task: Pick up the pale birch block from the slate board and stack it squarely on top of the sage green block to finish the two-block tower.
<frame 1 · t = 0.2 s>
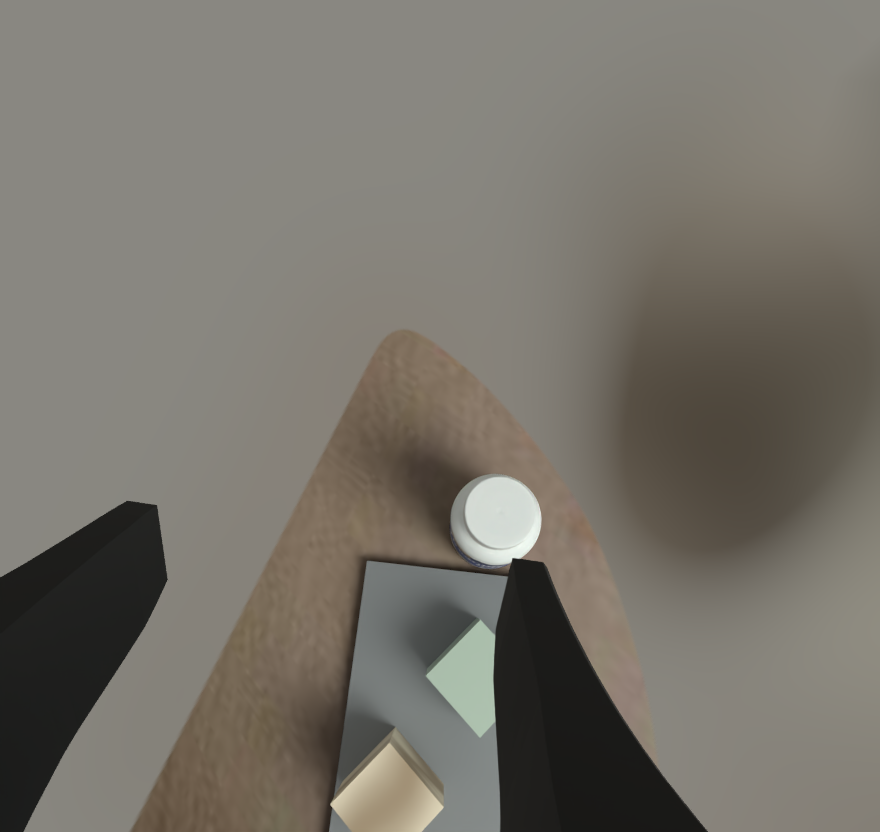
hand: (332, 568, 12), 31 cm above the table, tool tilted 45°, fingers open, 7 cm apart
pill bottle: (487, 530, 43), on the table
board: (436, 713, 39), on the table
birch block: (393, 782, 38), point 1 cm above the table, touching board
sage block: (476, 669, 39), resting on board
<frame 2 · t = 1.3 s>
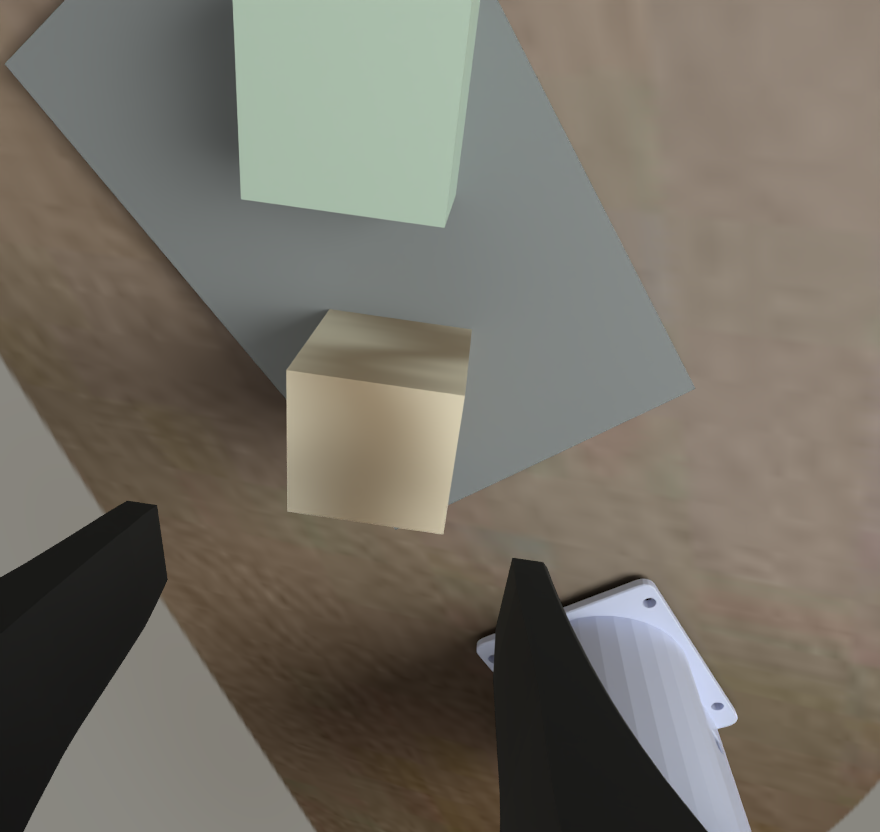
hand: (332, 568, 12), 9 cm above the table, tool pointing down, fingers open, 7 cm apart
board: (382, 233, 18), on the table
birch block: (394, 383, 20), point 1 cm above the table, touching board
sage block: (380, 92, 16), resting on board
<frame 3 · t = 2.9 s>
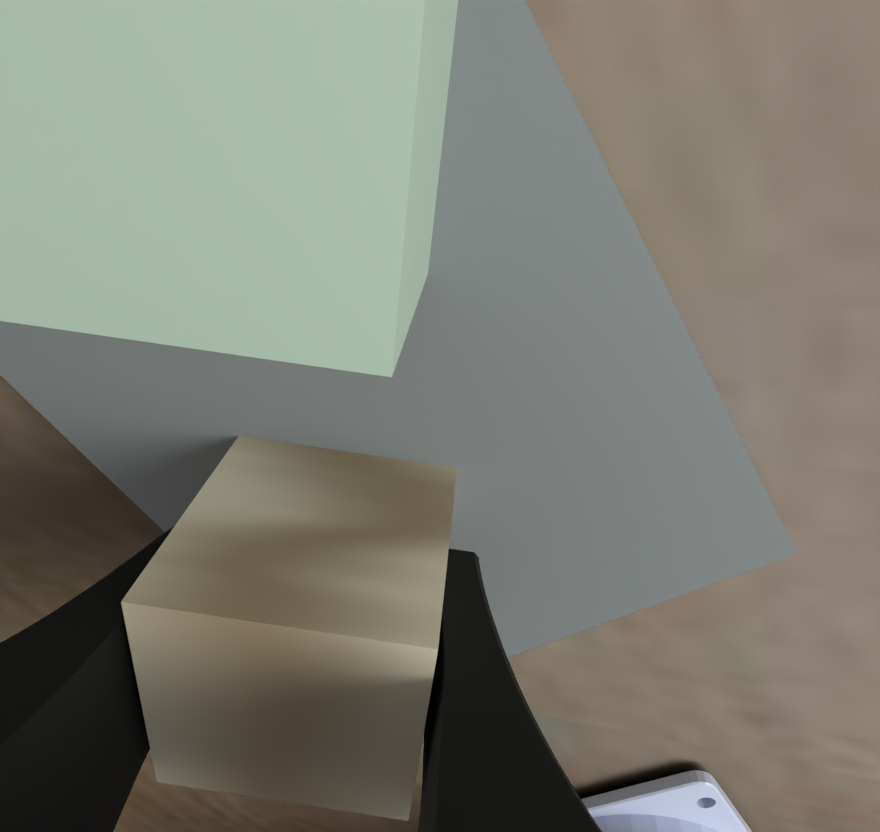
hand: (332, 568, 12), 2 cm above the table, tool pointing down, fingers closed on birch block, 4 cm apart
board: (318, 322, 12), on the table
birch block: (343, 535, 13), point 1 cm above the table, touching board, gripper
sage block: (295, 106, 9), resting on board
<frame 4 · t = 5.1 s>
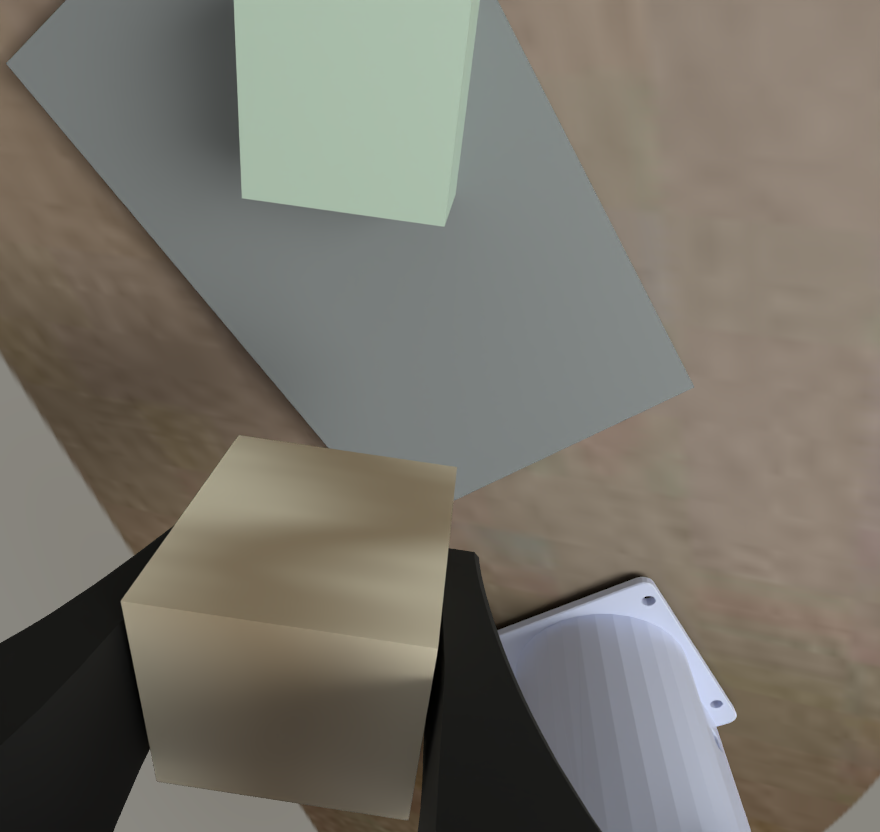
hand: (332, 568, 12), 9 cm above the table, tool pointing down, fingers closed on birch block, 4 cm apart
board: (383, 232, 18), on the table
birch block: (343, 535, 13), point 8 cm above the table, touching gripper
sage block: (380, 91, 16), resting on board
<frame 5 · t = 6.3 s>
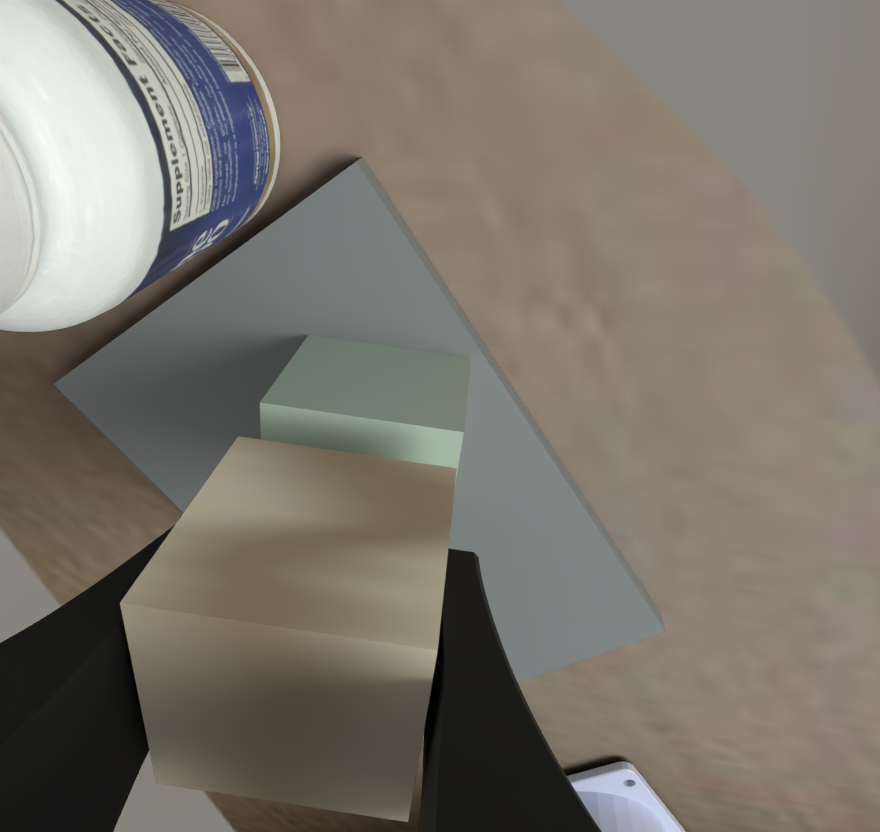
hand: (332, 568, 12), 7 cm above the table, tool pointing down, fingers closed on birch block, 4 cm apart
pill bottle: (184, 129, 15), on the table
board: (385, 501, 20), on the table
birch block: (342, 536, 13), point 6 cm above the table, touching gripper
sage block: (383, 416, 18), resting on board
when the fingers open (7 cm above the table, at t = 7.3 s): birch block stays where it is, resting on sage block.
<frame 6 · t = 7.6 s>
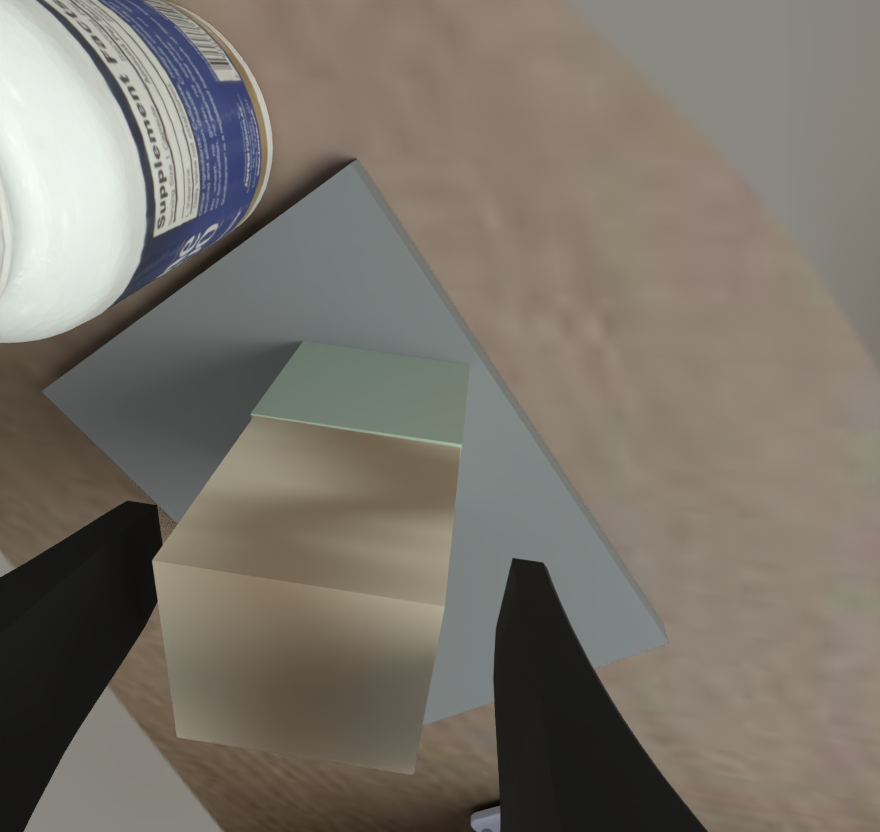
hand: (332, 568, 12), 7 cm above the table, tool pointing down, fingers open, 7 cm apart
pill bottle: (174, 129, 15), on the table
board: (382, 510, 20), on the table
birch block: (351, 512, 14), point 5 cm above the table, touching sage block
sage block: (380, 424, 17), resting on board
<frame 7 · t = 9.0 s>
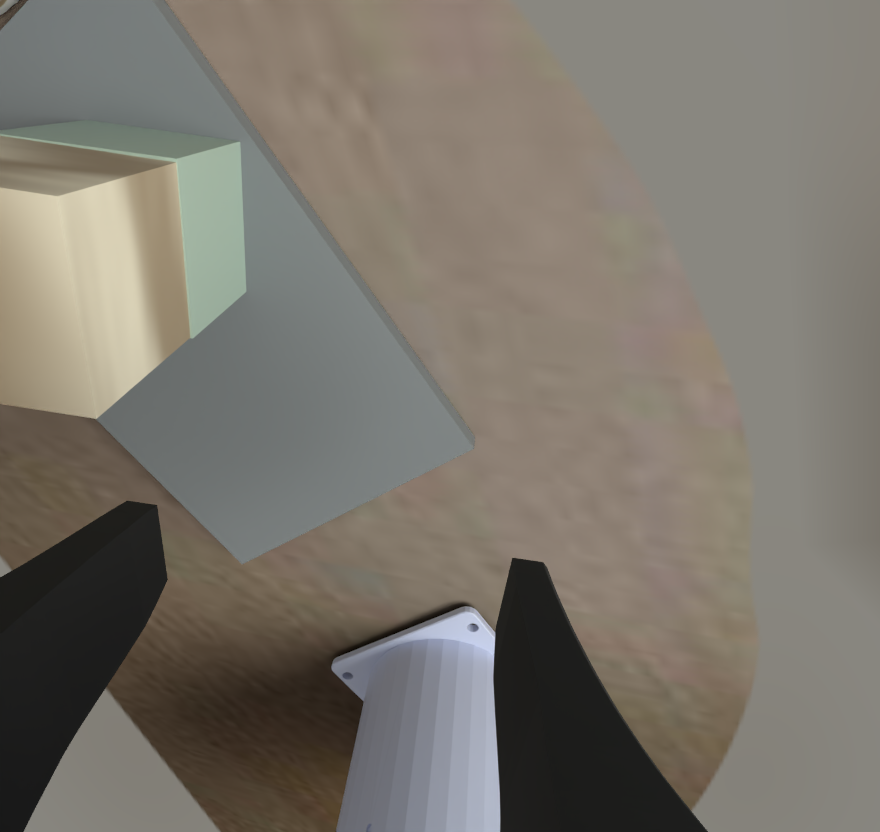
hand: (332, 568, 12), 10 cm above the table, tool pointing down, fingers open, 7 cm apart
board: (198, 317, 21), on the table
birch block: (97, 242, 15), point 5 cm above the table, touching sage block
sage block: (171, 210, 19), resting on board
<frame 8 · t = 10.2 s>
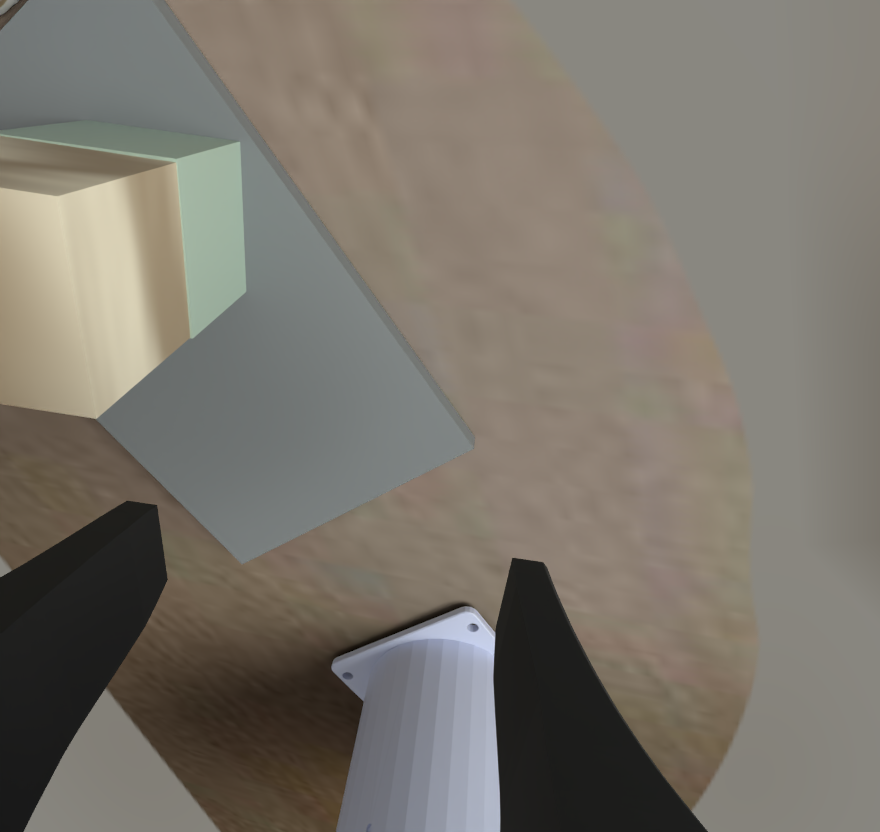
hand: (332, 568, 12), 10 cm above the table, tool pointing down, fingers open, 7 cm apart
board: (198, 317, 21), on the table
birch block: (97, 243, 15), point 5 cm above the table, touching sage block
sage block: (171, 210, 19), resting on board
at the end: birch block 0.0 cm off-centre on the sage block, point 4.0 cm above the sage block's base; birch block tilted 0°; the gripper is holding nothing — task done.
